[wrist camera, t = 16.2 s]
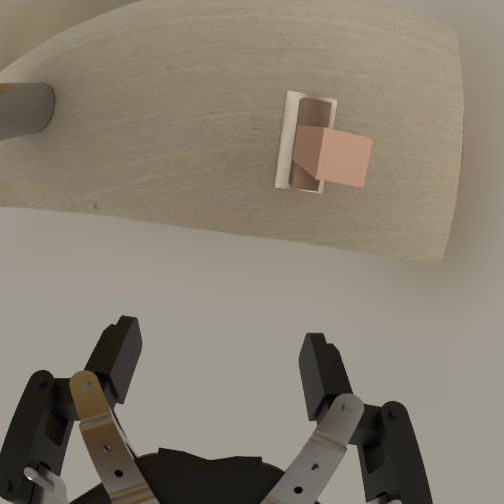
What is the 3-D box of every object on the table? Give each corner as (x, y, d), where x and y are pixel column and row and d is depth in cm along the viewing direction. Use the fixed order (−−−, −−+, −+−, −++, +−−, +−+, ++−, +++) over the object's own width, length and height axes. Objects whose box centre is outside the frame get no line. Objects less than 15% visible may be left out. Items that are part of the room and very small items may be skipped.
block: (292, 159, 33) (315, 179, 22) (297, 124, 31) (324, 127, 20) (326, 165, 33) (363, 188, 22) (332, 131, 31) (372, 139, 20)
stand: (273, 185, 39) (277, 193, 35) (286, 91, 33) (291, 87, 28) (319, 191, 40) (329, 200, 35) (333, 100, 33) (345, 98, 29)
